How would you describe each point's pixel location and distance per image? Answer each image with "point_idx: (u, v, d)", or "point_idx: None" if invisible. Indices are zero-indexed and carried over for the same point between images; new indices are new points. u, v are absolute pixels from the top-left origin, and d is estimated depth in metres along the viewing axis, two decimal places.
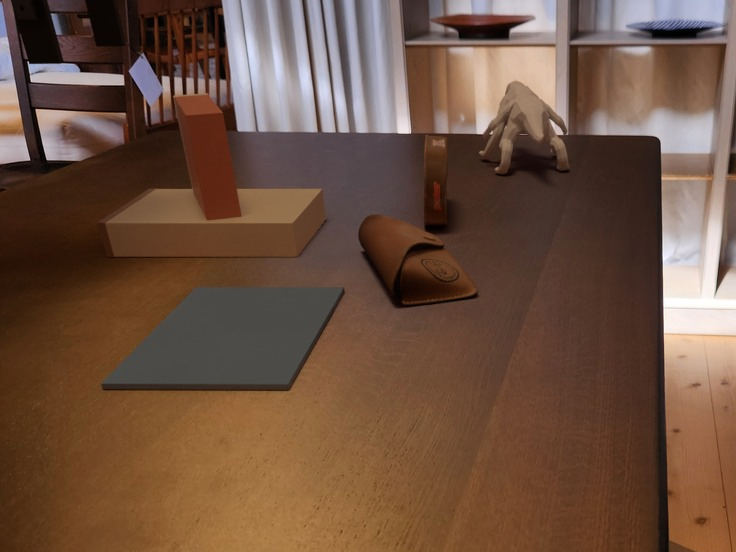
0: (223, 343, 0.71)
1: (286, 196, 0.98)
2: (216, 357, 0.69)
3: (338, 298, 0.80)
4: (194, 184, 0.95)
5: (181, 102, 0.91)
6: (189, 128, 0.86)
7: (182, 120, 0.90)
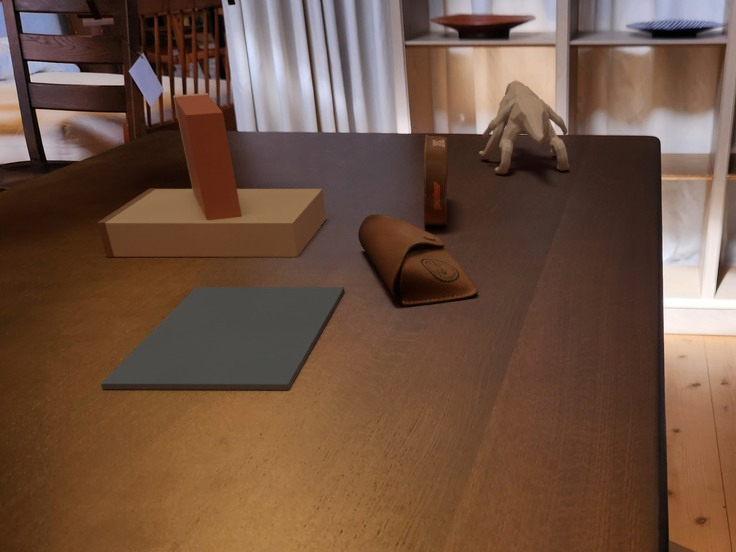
0: (223, 343, 0.71)
1: (286, 196, 0.98)
2: (216, 357, 0.69)
3: (338, 298, 0.80)
4: (194, 184, 0.95)
5: (181, 102, 0.91)
6: (189, 128, 0.86)
7: (182, 120, 0.90)
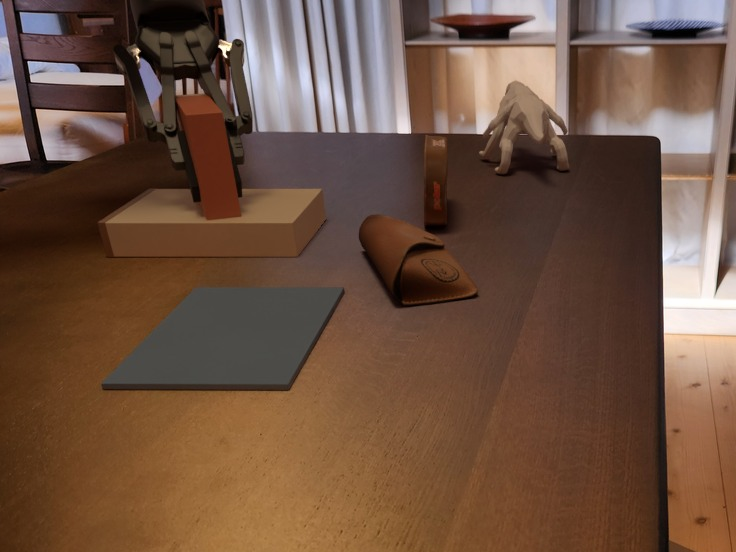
0: (223, 343, 0.71)
1: (286, 196, 0.98)
2: (216, 357, 0.69)
3: (338, 298, 0.80)
4: None
5: (181, 102, 0.91)
6: (189, 128, 0.86)
7: (182, 120, 0.90)
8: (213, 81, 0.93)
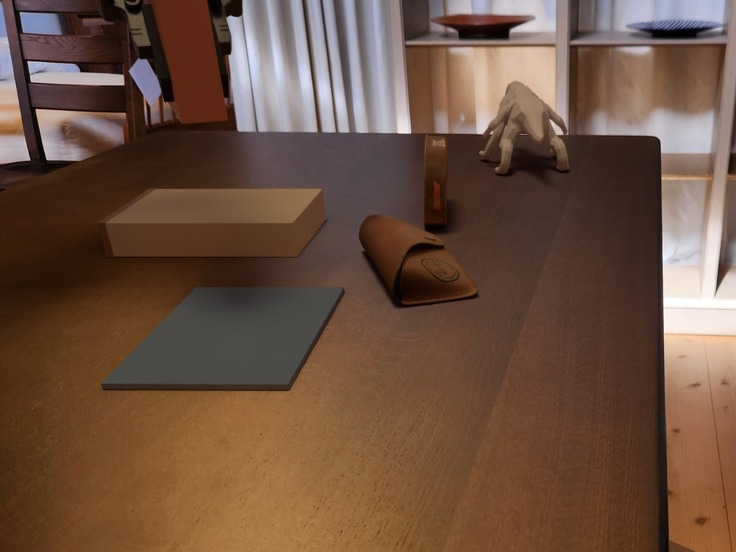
0: (223, 343, 0.71)
1: (286, 196, 0.98)
2: (216, 357, 0.69)
3: (338, 298, 0.80)
4: None
5: None
6: None
7: None
8: None
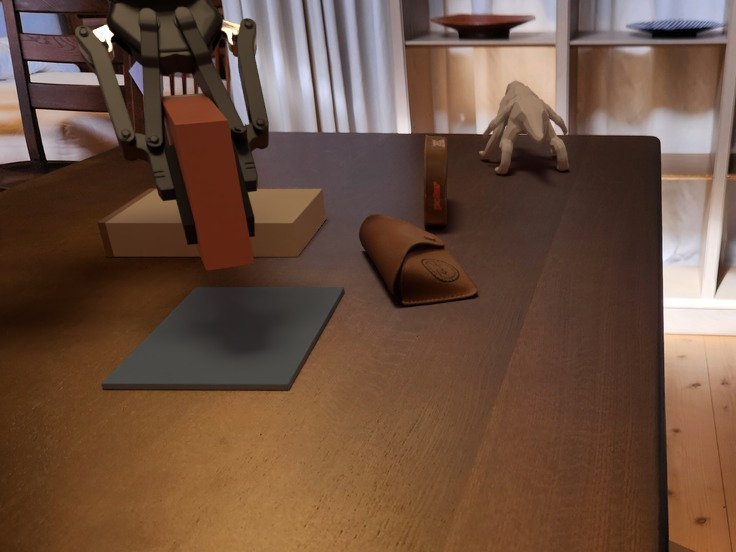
0: (223, 343, 0.71)
1: (286, 196, 0.98)
2: (216, 357, 0.69)
3: (338, 298, 0.80)
4: None
5: (169, 106, 0.65)
6: (180, 143, 0.60)
7: (171, 131, 0.64)
8: (214, 76, 0.67)
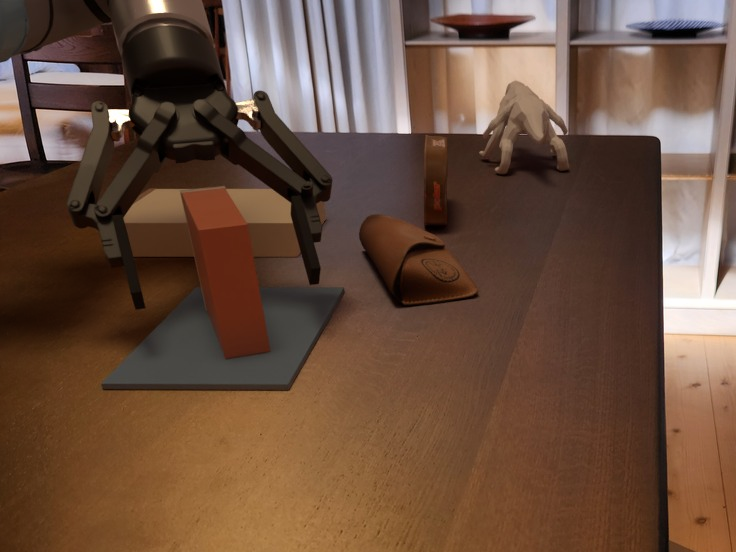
0: None
1: None
2: (216, 357, 0.69)
3: (338, 298, 0.80)
4: (207, 303, 0.73)
5: (191, 203, 0.69)
6: (203, 246, 0.64)
7: (192, 228, 0.68)
8: (256, 149, 0.72)
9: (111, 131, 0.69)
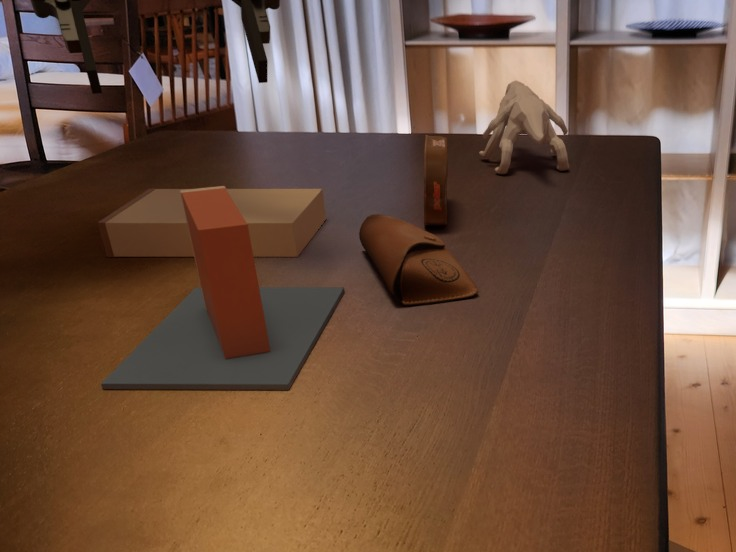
0: None
1: (286, 196, 0.98)
2: (216, 357, 0.69)
3: (338, 298, 0.80)
4: (207, 303, 0.73)
5: (191, 203, 0.69)
6: (203, 246, 0.64)
7: (192, 228, 0.68)
8: None
9: None
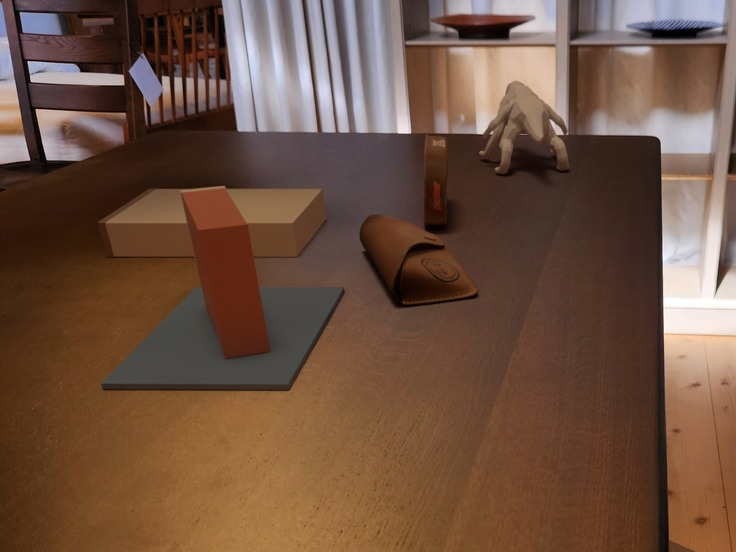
0: None
1: (286, 196, 0.98)
2: (216, 357, 0.69)
3: (338, 298, 0.80)
4: (207, 303, 0.73)
5: (191, 203, 0.69)
6: (203, 246, 0.64)
7: (192, 228, 0.68)
8: None
9: None
